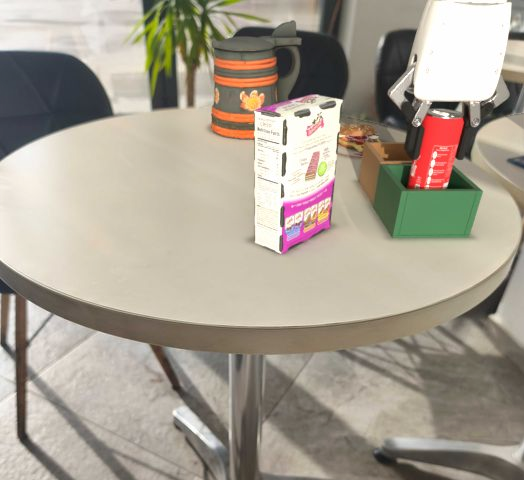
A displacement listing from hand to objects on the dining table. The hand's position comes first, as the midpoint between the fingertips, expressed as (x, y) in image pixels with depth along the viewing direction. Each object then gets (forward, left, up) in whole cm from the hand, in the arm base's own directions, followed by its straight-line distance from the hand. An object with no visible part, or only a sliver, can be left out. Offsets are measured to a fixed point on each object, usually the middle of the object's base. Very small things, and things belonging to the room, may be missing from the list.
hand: (434, 155), depth 65 cm
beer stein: (+21, -49, -10) cm, 54 cm away
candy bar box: (+19, +4, -10) cm, 21 cm away
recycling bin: (0, 0, -10) cm, 10 cm away
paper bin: (0, -11, -10) cm, 15 cm away
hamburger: (+1, -35, -10) cm, 37 cm away
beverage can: (0, 0, -7) cm, 7 cm away
